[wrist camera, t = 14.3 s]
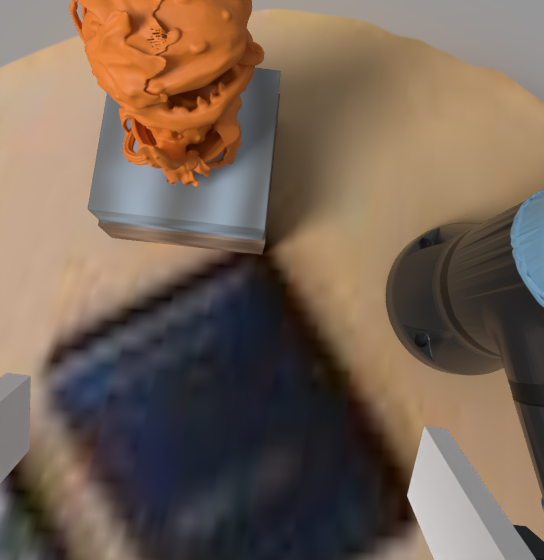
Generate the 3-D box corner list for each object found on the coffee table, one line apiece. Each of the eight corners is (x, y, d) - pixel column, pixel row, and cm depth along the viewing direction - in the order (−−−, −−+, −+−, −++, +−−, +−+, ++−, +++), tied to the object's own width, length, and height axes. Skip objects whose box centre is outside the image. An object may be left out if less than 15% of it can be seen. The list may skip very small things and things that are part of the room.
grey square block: (275, 117, 48) (284, 68, 40) (261, 254, 46) (267, 233, 37) (133, 98, 47) (111, 44, 39) (111, 237, 45) (83, 212, 36)
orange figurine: (245, 211, 37) (254, 88, 20) (113, 191, 37) (-1, 44, 19) (264, 89, 39) (287, -125, 21) (138, 67, 39) (55, -171, 21)
